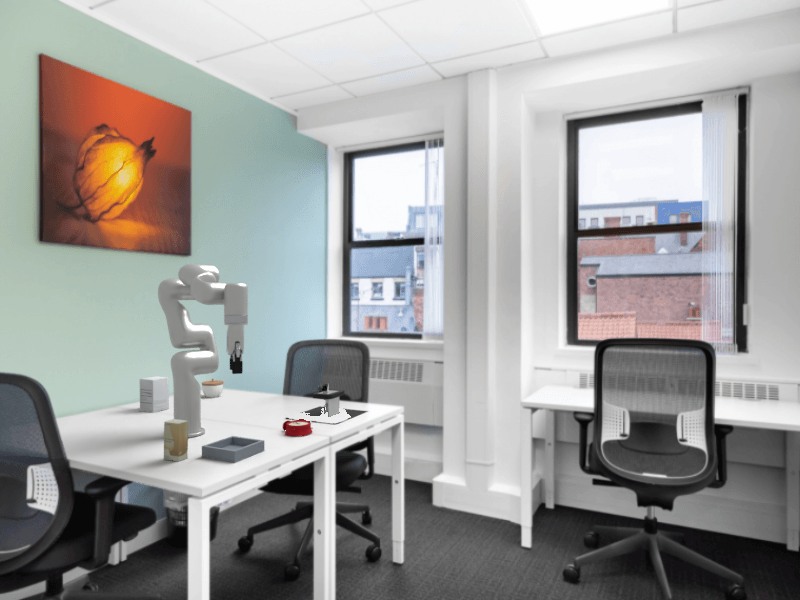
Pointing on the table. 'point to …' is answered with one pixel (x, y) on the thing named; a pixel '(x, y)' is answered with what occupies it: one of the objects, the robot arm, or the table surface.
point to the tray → (233, 448)
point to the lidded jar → (212, 388)
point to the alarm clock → (297, 427)
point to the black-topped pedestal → (331, 403)
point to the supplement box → (154, 394)
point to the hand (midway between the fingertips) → (235, 371)
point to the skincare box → (175, 440)
